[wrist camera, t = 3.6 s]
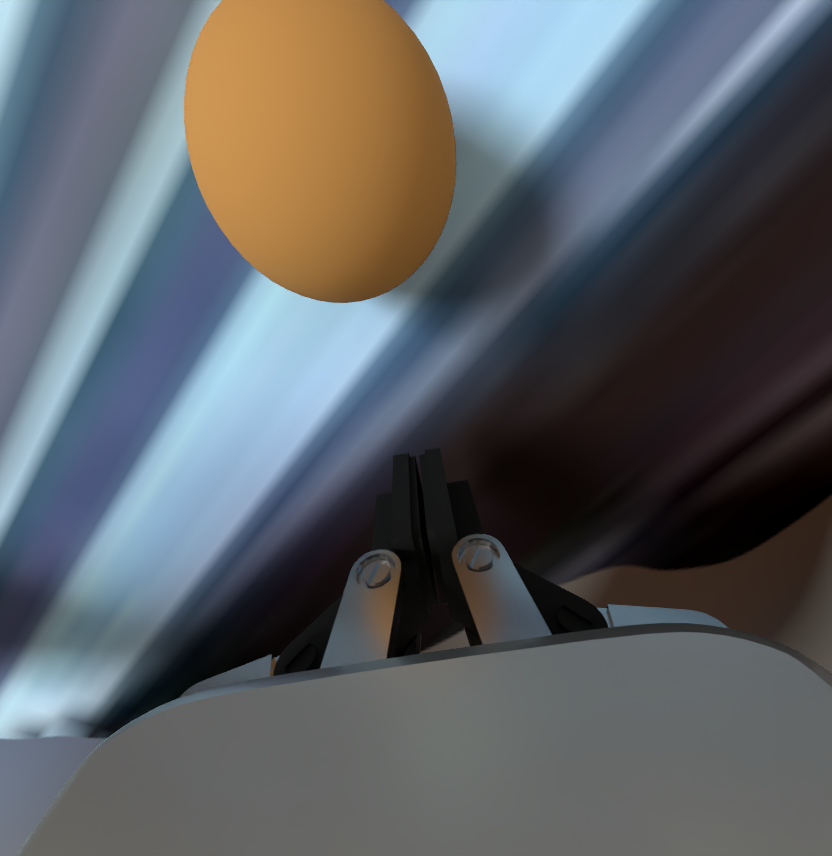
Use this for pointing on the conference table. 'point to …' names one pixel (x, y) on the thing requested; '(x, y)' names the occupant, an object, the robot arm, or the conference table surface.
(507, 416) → the conference table surface
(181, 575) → the conference table surface
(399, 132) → the ball
